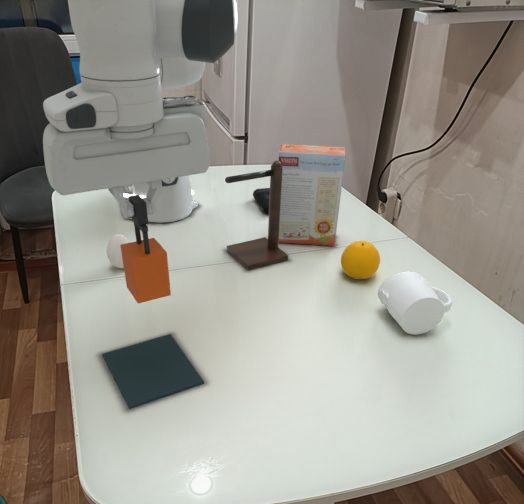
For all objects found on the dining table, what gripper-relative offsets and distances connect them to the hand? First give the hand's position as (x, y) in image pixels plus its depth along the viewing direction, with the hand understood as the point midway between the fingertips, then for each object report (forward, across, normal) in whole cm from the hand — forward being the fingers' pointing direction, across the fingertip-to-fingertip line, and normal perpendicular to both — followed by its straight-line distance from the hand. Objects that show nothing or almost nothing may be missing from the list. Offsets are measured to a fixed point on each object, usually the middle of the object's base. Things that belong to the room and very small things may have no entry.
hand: (138, 214), depth 68 cm
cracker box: (+26, -47, -27) cm, 60 cm away
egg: (+26, -5, -33) cm, 42 cm away
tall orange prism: (+12, 0, 0) cm, 12 cm away
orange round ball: (+26, -48, -8) cm, 55 cm away
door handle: (+26, -55, -44) cm, 75 cm away
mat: (+26, +1, +1) cm, 26 cm away
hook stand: (+25, -31, -25) cm, 47 cm away
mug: (+26, -47, +10) cm, 54 cm away
